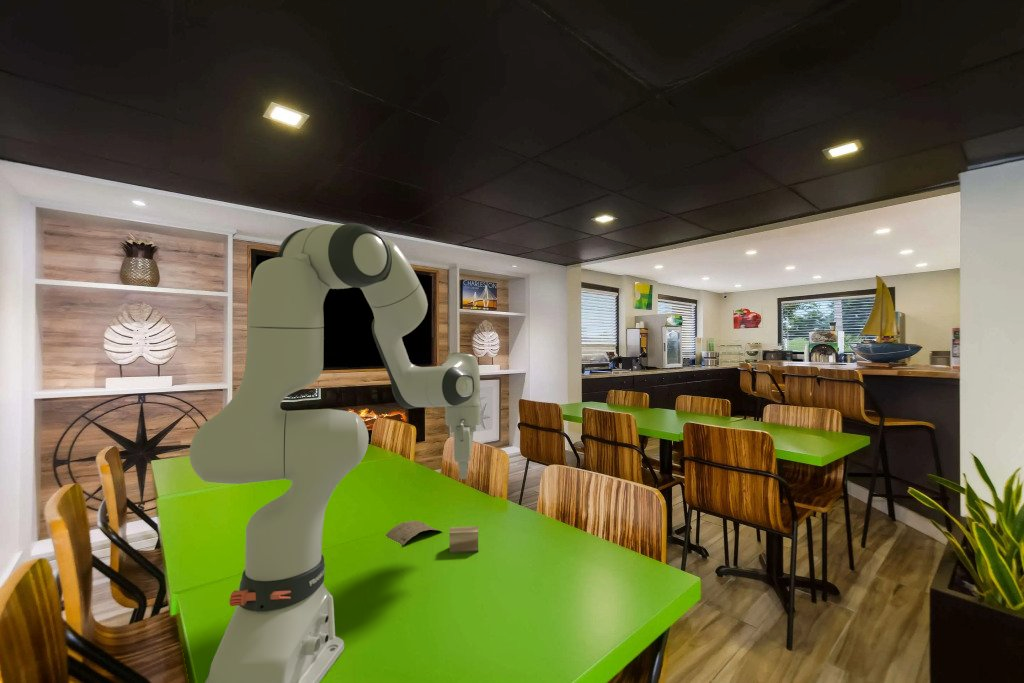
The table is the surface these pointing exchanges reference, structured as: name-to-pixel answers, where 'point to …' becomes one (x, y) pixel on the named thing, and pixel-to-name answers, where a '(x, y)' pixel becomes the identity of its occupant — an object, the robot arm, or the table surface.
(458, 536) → the block
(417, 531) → the clay tablet
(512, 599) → the table surface
